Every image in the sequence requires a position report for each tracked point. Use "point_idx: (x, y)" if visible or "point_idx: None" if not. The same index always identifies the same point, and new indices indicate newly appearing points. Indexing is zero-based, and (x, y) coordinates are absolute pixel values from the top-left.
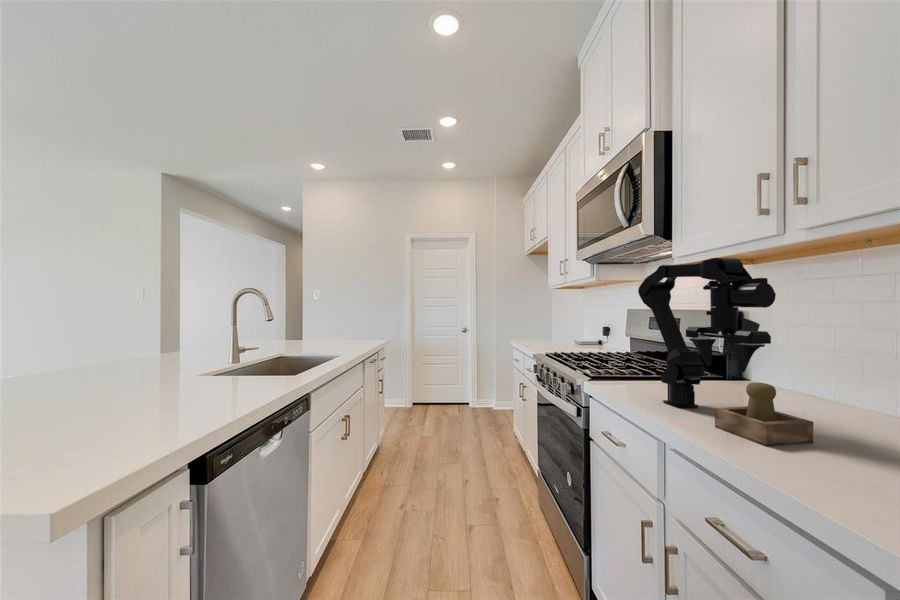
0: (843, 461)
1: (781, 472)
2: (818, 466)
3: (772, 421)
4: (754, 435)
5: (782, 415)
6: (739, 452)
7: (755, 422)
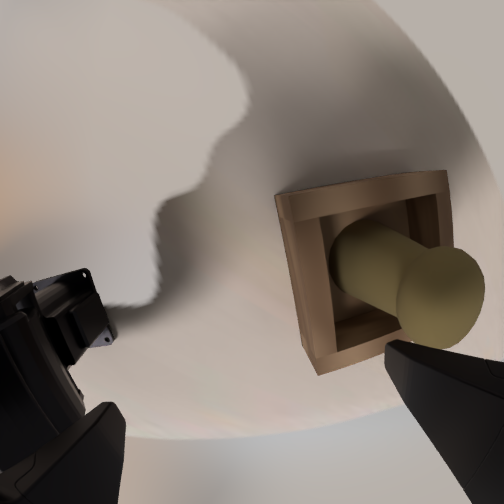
0: (474, 213)
1: (475, 344)
2: None
3: None
4: None
5: (396, 200)
6: None
7: None
